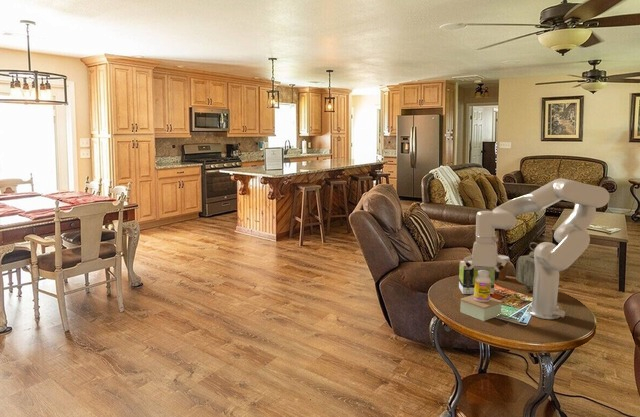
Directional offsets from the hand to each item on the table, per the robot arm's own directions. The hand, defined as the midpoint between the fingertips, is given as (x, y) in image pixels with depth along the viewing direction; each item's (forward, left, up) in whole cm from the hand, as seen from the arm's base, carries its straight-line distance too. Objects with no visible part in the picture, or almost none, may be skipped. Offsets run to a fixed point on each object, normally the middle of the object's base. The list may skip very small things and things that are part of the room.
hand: (484, 278), depth 196 cm
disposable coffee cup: (+25, -49, -16) cm, 58 cm away
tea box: (+19, -21, -16) cm, 33 cm away
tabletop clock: (+3, -43, -16) cm, 46 cm away
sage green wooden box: (0, +1, -16) cm, 16 cm away
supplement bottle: (0, 0, -10) cm, 10 cm away
